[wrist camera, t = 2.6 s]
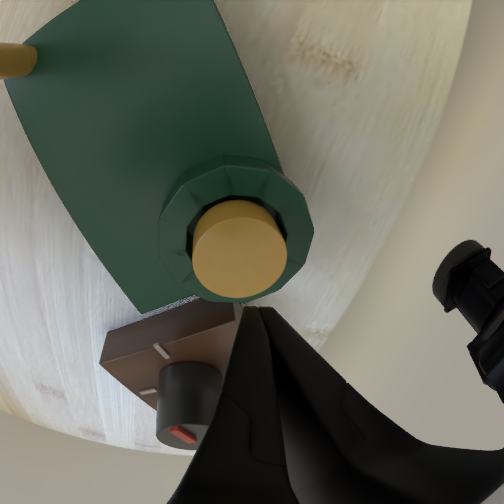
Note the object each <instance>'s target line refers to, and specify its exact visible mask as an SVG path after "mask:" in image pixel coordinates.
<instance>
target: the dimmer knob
mask: <svg viewBox="0 0 504 504" xmlns="http://www.w3.org/2000/svg"><path fill="white" fill-rule="evenodd" d="M222 383H223V377H222V375H221V373H220V372H219V371H218V370H217V369H215V368H213V367H212V366H209V365H206V364H203V363H197V362H180V363H175V364H172V365H170V366H167V367H166V368H164V369H163V370H162V371H161V373H160V374H159V380H158V397H157V420H156V437H157V439H158V440H159V441H160V442H162V443H163V444H165V445H168V446H170V447H174V448H178V449H184V450H197V449H198V447H199V445H200V443H201V441H202V439H203V437H204V435H205V432H206V430H207V428H208V425H209V423H210V421H211V418H212V415H213V412H214V409H215V406H216V403H217V400H218V396H219V393H220V390H221V386H222Z"/></svg>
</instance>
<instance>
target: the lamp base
mask: <svg viewBox="0 0 504 504" xmlns="http://www.w3.org/2000/svg"><path fill="white" fill-rule="evenodd" d="M23 44H24V45H31V46H33V47H35V49H36V51H37V61H36V64H35V67H34V68H33V70H32V71H31V72H30V73H29V74H28V75H27V76H25V77H21V78H10V79H4V82H5V85H6V88H7V90H8V93H9V95H10V98H11V100H12V103H13V105H14V108H15V110H16V113H17V115H18V117H19V119H20V122H21V124H22V126H23V128H24V131H25V133H26V135H27V137H28V139H29V141H30V143H31V145H32V147H33V149H34V151H35V153H36V155H37V157H38V159H39V161H40V163H41V165H42V167H43V169H44V171H45V172H46V174H47V176H48V178H49V180H50V182H51V183H52V185H53V187H54V189H55V190H56V192H57V194H58V196H59V197H60V199H61V201H62V202H63V204H64V206H65V207H66V209H67V211H68V212H69V214H70V215H71V217H72V219H73V220H74V222H75V223H76V225H77V227H78V228H79V230H80V231H81V233H82V234H83V236H84V237H85V239H86V240H87V242H88V243H89V245H90V246H91V248H92V249H93V251H94V252H95V253H96V255H97V256H98V258H99V259H100V261H101V262H102V263H103V265H104V266H105V268H106V269H107V270H108V272H109V273H110V274H111V276H112V277H113V278H114V280H115V281H116V283H117V284H118V285H119V286H120V288H121V289H122V290H123V292H124V293H125V294H126V296H127V297H128V298H129V299H130V301H131V302H132V303H133V304H134V306H135V307H136V308H137V309H138V311H139V312H140V313H141V314H144V313H146V312H149V311H152V310H154V309H157V308H160V307H162V306H165V305H168V304H170V303H173V302H176V301H178V300H181V299H184V298H186V297H189V296H191V295H194V294H195V295H197V296H199V297H201V298H203V299H205V300H207V301H211V302H232V303H245V302H250V301H252V300H255V299H257V298H260V297H263V296H265V295H268V294H270V293H273V292H276V291H278V290H279V289H281V288H282V287H283V286H284V285H285V284H286V283H287V282H288V281H289V280H290V279H291V278H292V277H293V276H294V275H295V274H296V273H297V272H298V271H299V270H300V269H301V268H302V267H303V265H304V264H305V261H306V258H307V255H308V251H309V248H310V245H311V241H312V238H313V234H314V227H313V224H312V220H311V217H310V214H309V210H308V207H307V204H306V201H305V197H304V196H303V194H302V193H301V192H300V190H299V189H298V188H297V187H296V186H295V185H294V183H293V182H292V181H291V180H289V179H288V178H287V177H286V176H285V175H284V173H283V170H282V168H281V165H280V162H279V159H278V156H277V154H276V151H275V148H274V145H273V143H272V140H271V137H270V134H269V132H268V129H267V126H266V124H265V121H264V119H263V116H262V113H261V111H260V108H259V106H258V103H257V100H256V98H255V95H254V93H253V90H252V88H251V85H250V83H249V80H248V78H247V76H246V73H245V71H244V68H243V66H242V63H241V61H240V59H239V56H238V54H237V52H236V49H235V47H234V45H233V42H232V40H231V38H230V36H229V33H228V31H227V29H226V27H225V24H224V22H223V20H222V18H221V16H220V13H219V11H218V9H217V7H216V5H215V3H214V0H80V1H78V2H77V3H75V4H74V5H72V6H71V7H69V8H68V9H66V10H65V11H64V12H62V13H61V14H59V15H58V16H57V17H55V18H54V19H52V20H51V21H50V22H48V23H47V24H46V25H45V26H43V27H42V28H41V29H39V30H38V31H37V32H36V33H34V34H33V35H32V36H31V37H30V38H28V39H27V40H26V41H25V42H24V43H23ZM230 200H246V201H250V202H254V203H256V204H258V205H260V206H262V207H263V208H264V209H266V210H267V211H268V212H269V213H270V214H271V216H272V217H273V219H274V221H275V223H276V225H277V227H278V229H279V231H280V233H281V235H282V237H283V239H284V241H285V244H286V247H287V261H286V265H285V268H284V270H283V272H282V274H281V276H280V277H279V279H278V280H277V281H276V282H275V283H274V284H273V285H272V286H270V287H269V288H268V289H266V290H264V291H263V292H261V293H258V294H256V295H253V296H249V297H244V298H229V297H224V296H221V295H218V294H215V293H213V292H211V291H210V290H208V289H207V288H206V287H204V286H203V285H202V283H201V282H200V281H199V280H198V278H197V276H196V275H195V272H194V269H193V264H192V253H193V236H194V230H195V227H196V225H197V223H198V221H199V220H200V218H201V217H202V216H203V214H204V213H205V212H207V211H208V210H209V209H210V208H212V207H213V206H215V205H217V204H219V203H222V202H225V201H230Z"/></svg>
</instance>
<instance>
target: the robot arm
mask: <svg viewBox="0 0 504 504" xmlns="http://www.w3.org/2000/svg"><path fill="white" fill-rule="evenodd" d="M490 257H491V249H490V248H489V247H487V248H485V249H484V250H482V251H481V252H479V253H477V254H476V255H474V256H472V257H471V258H469V259H467V260H466V261H464V262H462V263H460V264H459V265H457V266H455V267H453V268H452V269H451V270H450V272H449V277H448V285H447V292H446V299H445V306H444V311H445V312H446V313H449V312H450V311H452V310H453V309H455V308H457V309H458V310H459V311H460V313H461V314H462V315H463V316H464V317H465V319H466V320H467V321H468V322H469V324H470V325H471V326H472V327H473V329H474V330H475V331H476V332H477V334H478V335H477V336H476V337H475V338H474V340H473V341H472V342H470V343H469V344H468V345H467V348H468V350H469V352H470V355H471V357H472V359H473V361H474V364H475V366H476V368H477V370H478V372H479V374H480V376H481V379H482V381H483V383H484V384H485V385H488V386H489V387H490V388H492V389H493V390H495V391H497V393H498V395H499V397H500V399H501V401H502V402H503V403H504V272H503V271H502V270H501V269H500V268H499V267H498V266H497V265H496V264H495V263H494V262H492V261H491V260H490ZM167 504H504V448H503V449H500V450H494V451H484V450H470V449H460V448H450V447H442V446H436V445H430V444H427V443H425V442H422V441H420V440H418V439H416V438H415V437H413V436H412V435H410V434H409V433H408V432H406V431H405V430H404V429H402V428H401V427H400V426H398V425H397V424H396V423H394V422H393V421H392V420H391V419H389V418H388V417H387V416H385V415H384V414H383V413H381V412H380V411H379V410H378V409H377V408H375V407H374V406H373V405H372V404H370V403H369V402H368V401H367V400H366V399H365V398H364V397H363V396H362V395H360V394H359V393H358V392H357V391H356V390H355V389H354V388H353V387H352V386H351V385H350V384H349V383H346V380H345V379H344V378H343V377H342V376H340V374H339V373H338V372H336V371H335V370H334V369H333V368H332V367H331V366H330V365H329V364H328V363H327V362H326V361H325V360H324V359H323V358H322V357H321V356H320V355H319V354H318V353H317V352H316V351H315V350H314V349H313V348H312V347H311V346H310V345H309V344H308V343H307V342H306V341H305V340H304V339H303V338H302V337H301V336H300V335H299V334H298V333H297V332H296V331H295V330H294V329H293V328H292V327H291V326H290V325H289V323H288V322H287V321H286V320H285V319H284V318H283V317H282V316H281V315H280V314H279V313H278V312H277V311H276V310H275V309H274V308H272V307H259V308H258V307H256V306H245V307H244V308H243V312H242V315H241V319H240V322H239V326H238V330H237V333H236V337H235V340H234V344H233V347H232V351H231V355H230V358H229V362H228V365H227V369H226V372H225V376H224V379H223V383H222V386H221V390H220V393H219V396H218V400H217V403H216V406H215V409H214V412H213V415H212V418H211V421H210V423H209V425H208V428H207V430H206V432H205V435H204V437H203V439H202V441H201V443H200V445H199V447H198V449H197V451H196V453H195V455H194V457H193V459H192V461H191V463H190V465H189V467H188V469H187V471H186V473H185V475H184V477H183V478H182V480H181V482H180V484H179V486H178V488H177V489H176V491H175V492H174V494H173V495H172V497H171V498H170V500H169V501H168V502H167Z"/></svg>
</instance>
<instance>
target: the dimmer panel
mask: <svg viewBox="0 0 504 504" xmlns="http://www.w3.org/2000/svg"><path fill="white" fill-rule="evenodd" d="M242 312H243V308H242V306H241V305H240V303H232V302H211V301H207V300H205V299H203V298H201V299H198V300H196V301H193V302H190V303H188V304H185V305H182V306H179V307H177V308H174V309H171V310H169V311H166V312H163V313H160V314H158V315H155V316H152V317H149V318H147V319H144V320H141V321H138V322H136V323H133V324H130V325H127V326H124V327H122V328H119V329H116V330H113V331H110V332H108V333H107V335H106V339H105V342H104V346H103V350H102V354H101V358H100V362H99V364H100V365H101V366H102V367H103V368H104V369H105V370H107V371H108V372H109V373H110V374H111V375H112V376H113V377H115V378H116V379H117V380H118V381H119V382H120V383H122V384H123V385H124V386H125V387H126V388H128V389H129V390H130V391H131V392H133V393H134V394H135V395H136V396H138V397H139V398H140V399H141V400H143V401H144V402H145V403H147V404H148V405H149V406H151V407H152V408H153V409H155V410H156V411H157V397H158V380H159V374H160V373H161V371H162V370H163V369H164V368H166V367H167V366H170V365H172V364H175V363H180V362H197V363H203V364H206V365H209V366H212V367H213V368H215V369H217V370H218V371H219V372H220V373H221V375H222V377H223V379H224V376H225V372H226V369H227V365H228V362H229V358H230V355H231V351H232V347H233V344H234V340H235V337H236V333H237V330H238V326H239V322H240V319H241V315H242Z"/></svg>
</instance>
